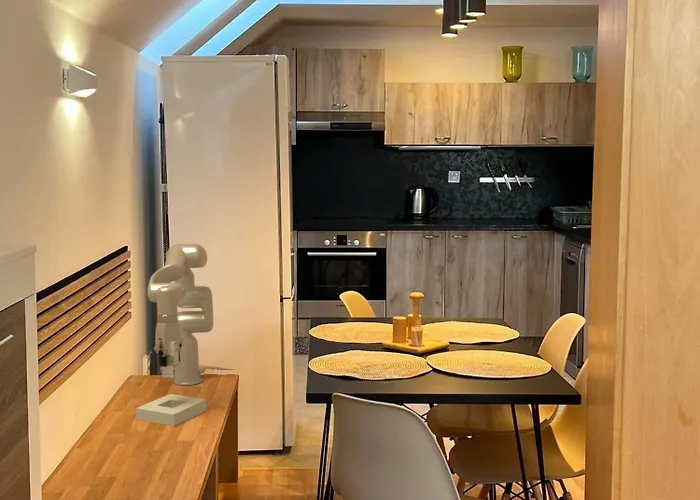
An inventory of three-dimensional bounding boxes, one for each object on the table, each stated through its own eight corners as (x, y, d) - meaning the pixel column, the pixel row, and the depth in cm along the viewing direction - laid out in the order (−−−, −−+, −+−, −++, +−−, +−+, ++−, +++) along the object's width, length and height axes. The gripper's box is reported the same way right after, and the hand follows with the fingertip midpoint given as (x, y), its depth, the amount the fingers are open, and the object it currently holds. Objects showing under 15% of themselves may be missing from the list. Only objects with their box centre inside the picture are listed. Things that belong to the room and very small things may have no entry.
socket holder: (170, 404, 328) (170, 393, 327) (206, 410, 320) (206, 399, 319) (136, 419, 310) (136, 408, 310) (173, 426, 302) (173, 414, 302)
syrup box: (180, 375, 316) (178, 338, 314) (175, 379, 310) (173, 342, 308) (165, 374, 316) (164, 338, 315) (160, 379, 311) (158, 341, 309)
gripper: (174, 313, 320) (176, 357, 322) (144, 322, 304) (147, 368, 307) (190, 315, 316) (191, 359, 318) (160, 323, 301) (162, 370, 303)
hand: (169, 363), depth 312 cm, fingers closed on syrup box, 7 cm apart
